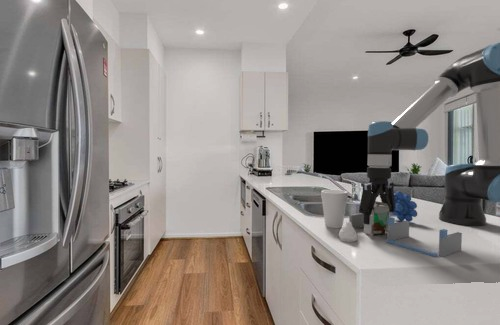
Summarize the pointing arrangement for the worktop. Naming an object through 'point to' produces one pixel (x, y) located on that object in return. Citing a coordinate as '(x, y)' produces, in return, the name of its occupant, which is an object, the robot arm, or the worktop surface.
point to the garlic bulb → (348, 233)
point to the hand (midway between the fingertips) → (377, 231)
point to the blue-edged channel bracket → (401, 230)
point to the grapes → (404, 207)
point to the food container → (379, 218)
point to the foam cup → (334, 207)
